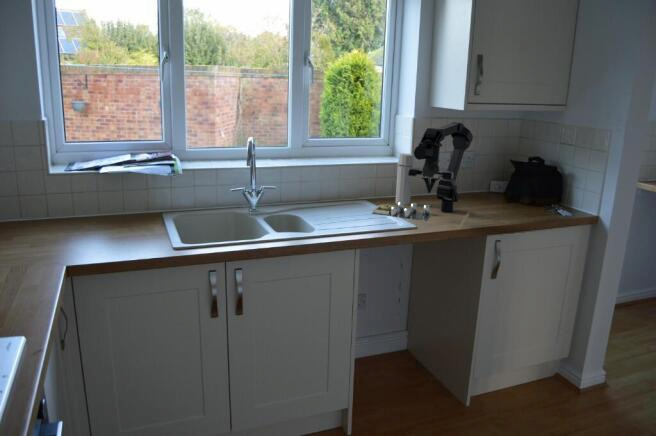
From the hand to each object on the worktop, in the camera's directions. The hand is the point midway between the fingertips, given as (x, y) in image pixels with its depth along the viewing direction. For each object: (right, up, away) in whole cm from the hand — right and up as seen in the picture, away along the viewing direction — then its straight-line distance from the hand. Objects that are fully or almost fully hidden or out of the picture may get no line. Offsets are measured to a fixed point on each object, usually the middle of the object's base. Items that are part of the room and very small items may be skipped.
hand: (429, 192), depth 230 cm
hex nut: (-18, -8, +10) cm, 22 cm away
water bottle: (-8, -5, +29) cm, 30 cm away
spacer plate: (-11, -10, +7) cm, 17 cm away
